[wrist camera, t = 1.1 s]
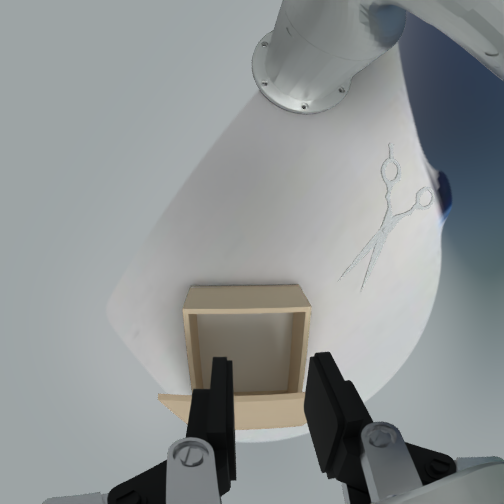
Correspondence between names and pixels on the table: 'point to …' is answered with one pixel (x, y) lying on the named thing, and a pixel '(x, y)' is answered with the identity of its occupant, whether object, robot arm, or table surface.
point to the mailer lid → (251, 410)
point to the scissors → (387, 217)
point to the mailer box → (248, 336)
